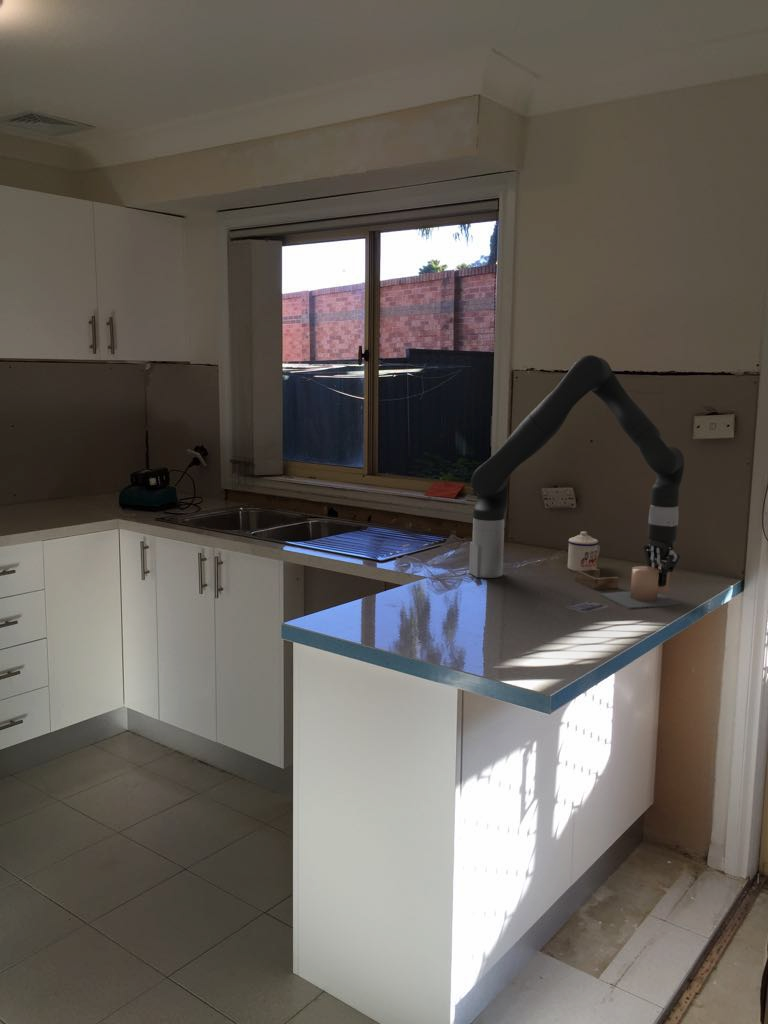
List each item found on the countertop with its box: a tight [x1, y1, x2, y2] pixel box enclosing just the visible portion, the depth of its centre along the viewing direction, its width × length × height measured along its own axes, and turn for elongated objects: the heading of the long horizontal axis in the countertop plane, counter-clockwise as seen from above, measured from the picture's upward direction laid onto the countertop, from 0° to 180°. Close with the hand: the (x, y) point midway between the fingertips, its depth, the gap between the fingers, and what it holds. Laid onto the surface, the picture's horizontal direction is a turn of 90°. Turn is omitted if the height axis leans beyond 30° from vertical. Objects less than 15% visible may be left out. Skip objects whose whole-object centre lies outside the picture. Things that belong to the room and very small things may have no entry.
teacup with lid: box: [567, 531, 601, 572], centre depth 266 cm, size 12×9×12 cm
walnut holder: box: [574, 568, 619, 590], centre depth 248 cm, size 8×11×3 cm
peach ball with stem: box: [630, 565, 671, 602], centre depth 232 cm, size 10×7×8 cm, turn 107°
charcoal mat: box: [599, 590, 682, 610], centre depth 232 cm, size 16×14×1 cm
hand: (659, 584), depth 233 cm, fingers closed on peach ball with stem
